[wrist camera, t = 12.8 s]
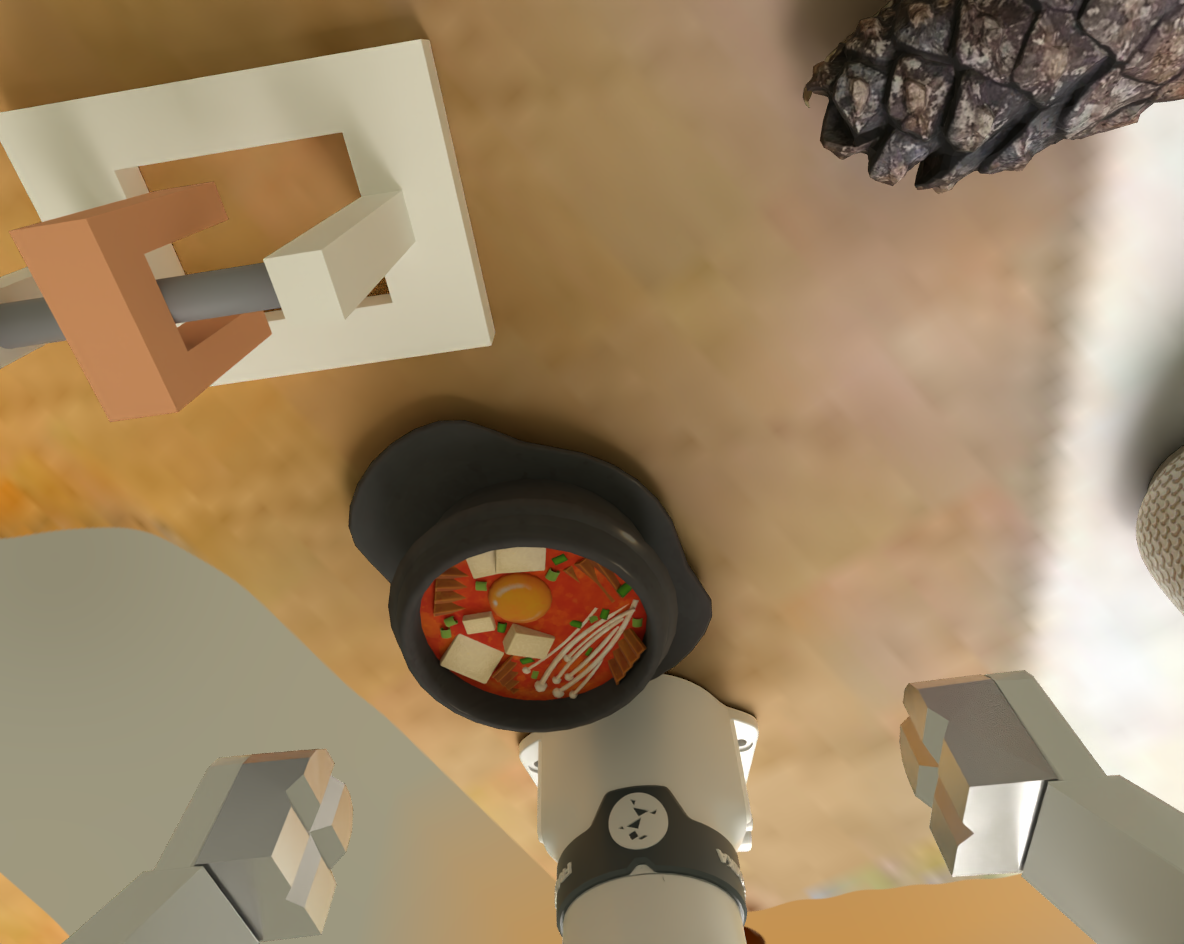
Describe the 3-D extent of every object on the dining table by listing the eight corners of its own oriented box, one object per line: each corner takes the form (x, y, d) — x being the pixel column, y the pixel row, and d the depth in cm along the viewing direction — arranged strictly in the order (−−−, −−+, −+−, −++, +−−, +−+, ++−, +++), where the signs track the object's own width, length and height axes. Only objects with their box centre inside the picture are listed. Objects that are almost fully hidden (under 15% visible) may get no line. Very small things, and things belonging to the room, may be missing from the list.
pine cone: (760, 68, 33) (822, 72, 24) (1158, -239, 28) (1416, -371, 19) (857, 252, 37) (939, 311, 29) (1216, 16, 32) (1449, 1, 24)
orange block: (272, 333, 32) (177, 412, 25) (219, 341, 32) (109, 421, 25) (213, 181, 29) (85, 218, 21) (155, 190, 29) (8, 231, 22)
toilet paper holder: (429, 39, 32) (337, 30, 20) (495, 332, 39) (456, 455, 27) (17, 111, 34) (-302, 143, 21) (152, 383, 41) (-30, 521, 28)
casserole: (769, 569, 48) (803, 660, 41) (588, 712, 55) (589, 812, 48) (471, 335, 39) (446, 398, 32) (301, 540, 46) (249, 630, 39)
